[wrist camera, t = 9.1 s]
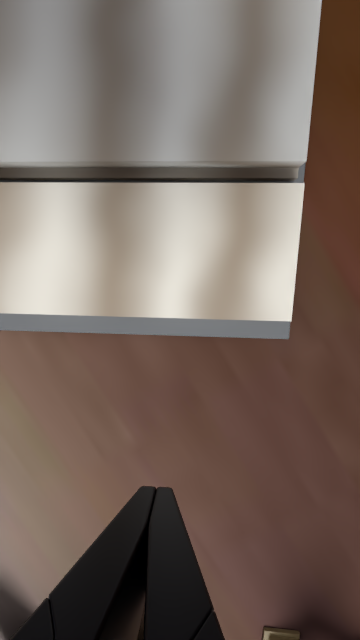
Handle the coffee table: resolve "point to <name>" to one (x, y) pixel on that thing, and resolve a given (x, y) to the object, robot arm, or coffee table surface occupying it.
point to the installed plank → (156, 89)
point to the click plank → (150, 249)
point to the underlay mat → (147, 323)
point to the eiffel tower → (280, 634)
